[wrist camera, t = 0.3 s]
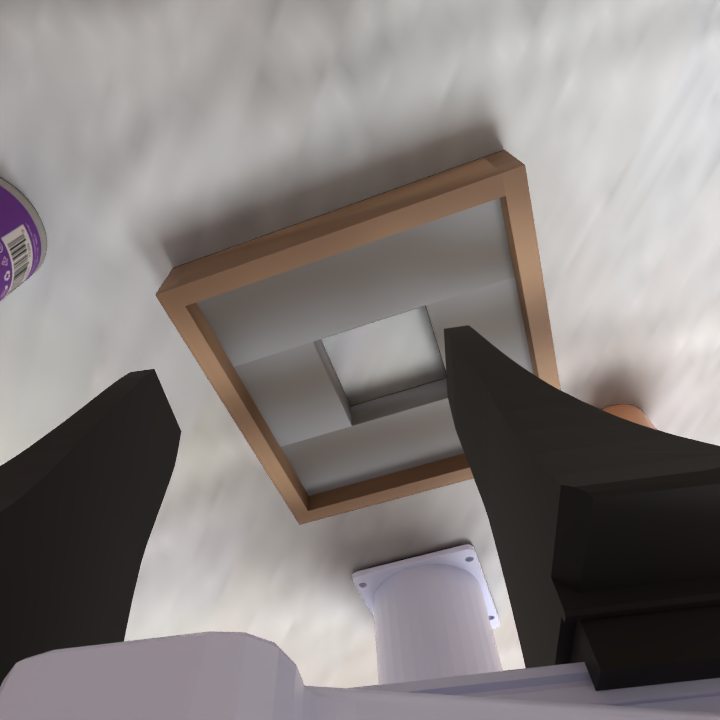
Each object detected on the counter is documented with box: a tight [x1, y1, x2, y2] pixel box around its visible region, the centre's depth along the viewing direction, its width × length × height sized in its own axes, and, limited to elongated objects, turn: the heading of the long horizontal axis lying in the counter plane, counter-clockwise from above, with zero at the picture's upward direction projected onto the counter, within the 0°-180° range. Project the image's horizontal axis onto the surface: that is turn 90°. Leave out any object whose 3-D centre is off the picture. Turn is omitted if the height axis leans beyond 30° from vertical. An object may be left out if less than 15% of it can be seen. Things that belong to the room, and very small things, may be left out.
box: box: [156, 150, 560, 525], centre depth 23 cm, size 14×14×2 cm
